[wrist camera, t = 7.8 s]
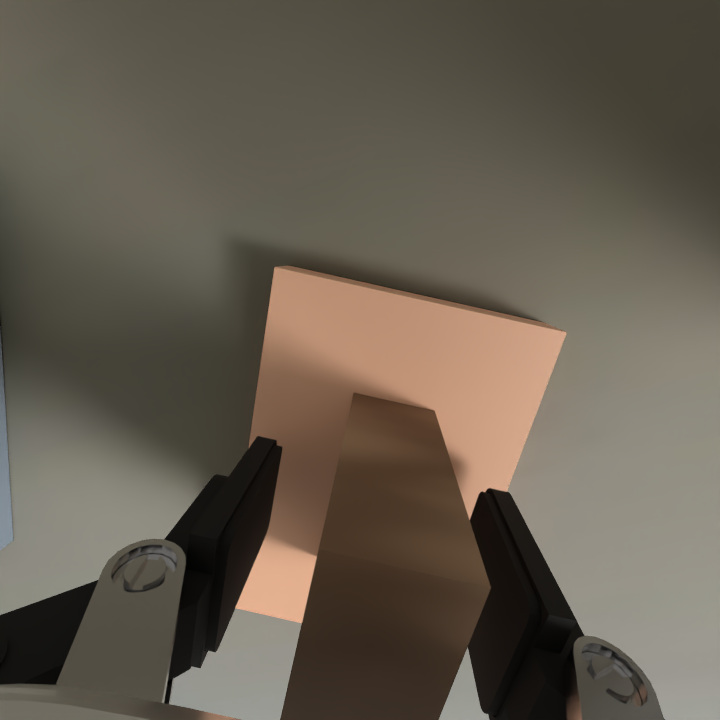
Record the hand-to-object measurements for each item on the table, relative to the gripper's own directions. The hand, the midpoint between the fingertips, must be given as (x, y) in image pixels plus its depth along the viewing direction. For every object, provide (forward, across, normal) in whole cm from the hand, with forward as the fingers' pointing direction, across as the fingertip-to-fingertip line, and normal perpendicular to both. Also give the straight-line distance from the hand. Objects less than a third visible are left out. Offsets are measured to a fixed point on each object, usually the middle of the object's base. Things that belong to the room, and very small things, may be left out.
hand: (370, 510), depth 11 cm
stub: (+3, 0, 0) cm, 3 cm away
